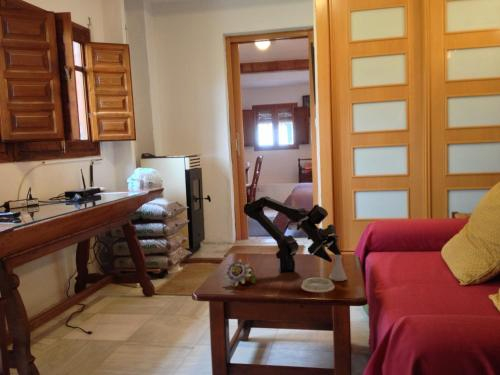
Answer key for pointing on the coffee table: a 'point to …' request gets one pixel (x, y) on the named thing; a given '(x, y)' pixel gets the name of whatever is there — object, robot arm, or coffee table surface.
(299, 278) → the coffee table surface
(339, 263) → the flask
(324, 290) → the shaker seat
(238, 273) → the passion flower
